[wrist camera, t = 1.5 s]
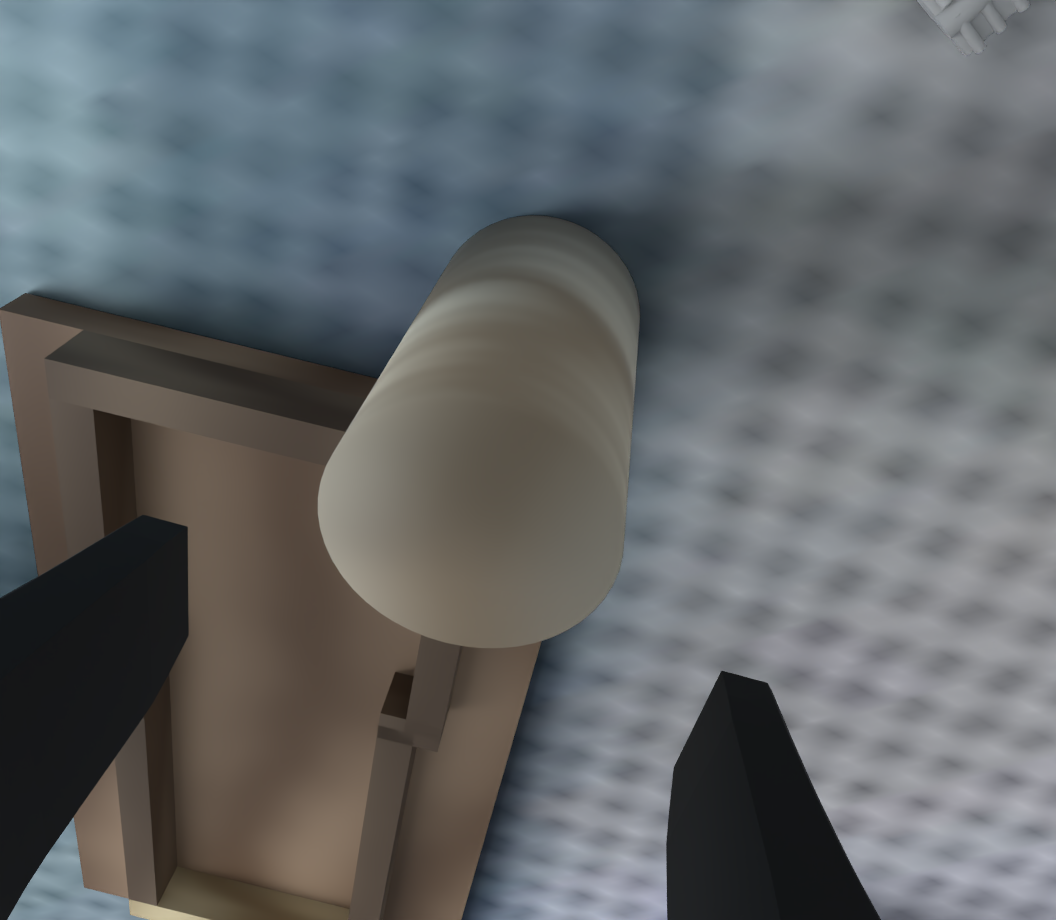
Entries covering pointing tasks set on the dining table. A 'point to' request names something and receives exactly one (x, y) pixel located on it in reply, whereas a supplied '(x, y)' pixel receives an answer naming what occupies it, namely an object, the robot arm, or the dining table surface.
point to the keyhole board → (255, 640)
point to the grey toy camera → (972, 19)
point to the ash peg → (495, 444)
